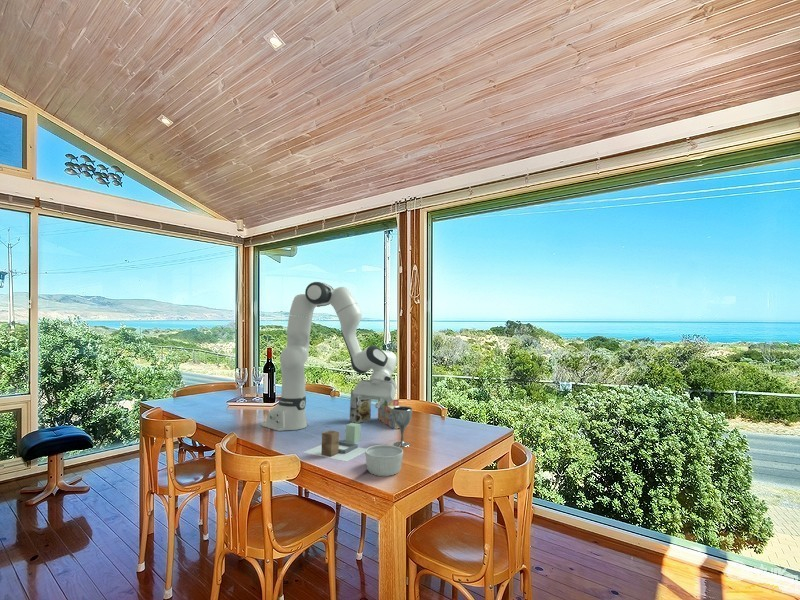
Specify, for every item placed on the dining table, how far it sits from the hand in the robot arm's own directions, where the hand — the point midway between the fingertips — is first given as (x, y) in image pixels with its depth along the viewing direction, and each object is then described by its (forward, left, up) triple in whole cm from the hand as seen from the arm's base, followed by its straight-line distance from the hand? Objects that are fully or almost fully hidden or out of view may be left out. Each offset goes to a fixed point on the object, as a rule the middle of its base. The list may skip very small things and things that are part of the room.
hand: (367, 406), depth 180 cm
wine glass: (+18, -1, -14) cm, 23 cm away
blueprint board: (+2, -25, -14) cm, 29 cm away
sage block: (0, -11, -14) cm, 18 cm away
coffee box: (-18, +23, -14) cm, 32 cm away
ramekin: (+26, -31, -14) cm, 43 cm away
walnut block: (+2, -30, -12) cm, 32 cm away
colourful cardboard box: (-3, +28, -14) cm, 31 cm away
